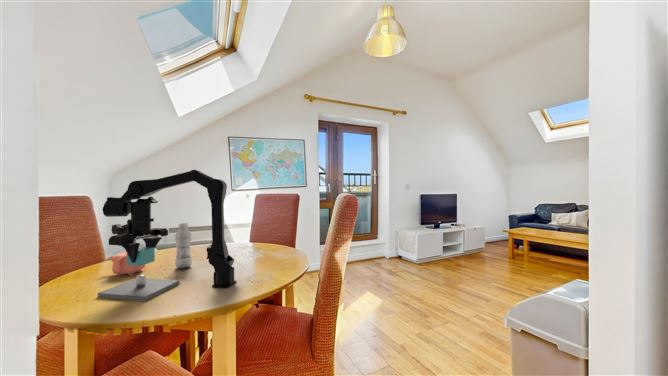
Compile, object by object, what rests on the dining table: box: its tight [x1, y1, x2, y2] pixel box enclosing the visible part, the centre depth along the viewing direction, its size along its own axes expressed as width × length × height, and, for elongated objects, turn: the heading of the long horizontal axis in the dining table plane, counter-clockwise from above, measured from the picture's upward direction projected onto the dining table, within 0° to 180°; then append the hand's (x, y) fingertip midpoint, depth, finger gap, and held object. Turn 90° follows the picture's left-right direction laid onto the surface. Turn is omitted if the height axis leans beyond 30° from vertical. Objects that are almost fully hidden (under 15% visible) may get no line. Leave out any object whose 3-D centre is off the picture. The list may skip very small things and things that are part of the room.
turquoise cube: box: [127, 246, 156, 266], centre depth 94 cm, size 6×6×5 cm
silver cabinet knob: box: [135, 274, 147, 288], centre depth 94 cm, size 3×3×4 cm
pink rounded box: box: [109, 250, 146, 277], centre depth 112 cm, size 12×12×10 cm
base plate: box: [97, 277, 180, 302], centre depth 94 cm, size 18×15×2 cm
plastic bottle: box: [174, 222, 192, 269], centre depth 120 cm, size 6×7×20 cm
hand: (141, 260), depth 94 cm, fingers closed on turquoise cube, 6 cm apart
